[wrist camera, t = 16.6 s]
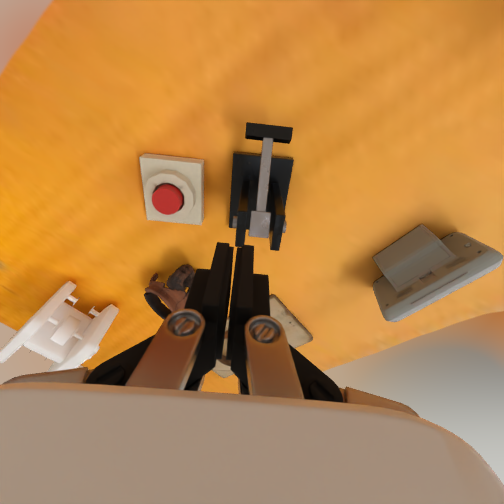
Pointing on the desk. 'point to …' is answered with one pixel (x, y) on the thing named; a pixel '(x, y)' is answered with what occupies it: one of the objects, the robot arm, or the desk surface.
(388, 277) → the digital clock
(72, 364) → the cable organizer
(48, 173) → the desk surface
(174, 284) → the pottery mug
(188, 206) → the control block
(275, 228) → the bracket
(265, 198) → the lever
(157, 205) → the button
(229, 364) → the board
